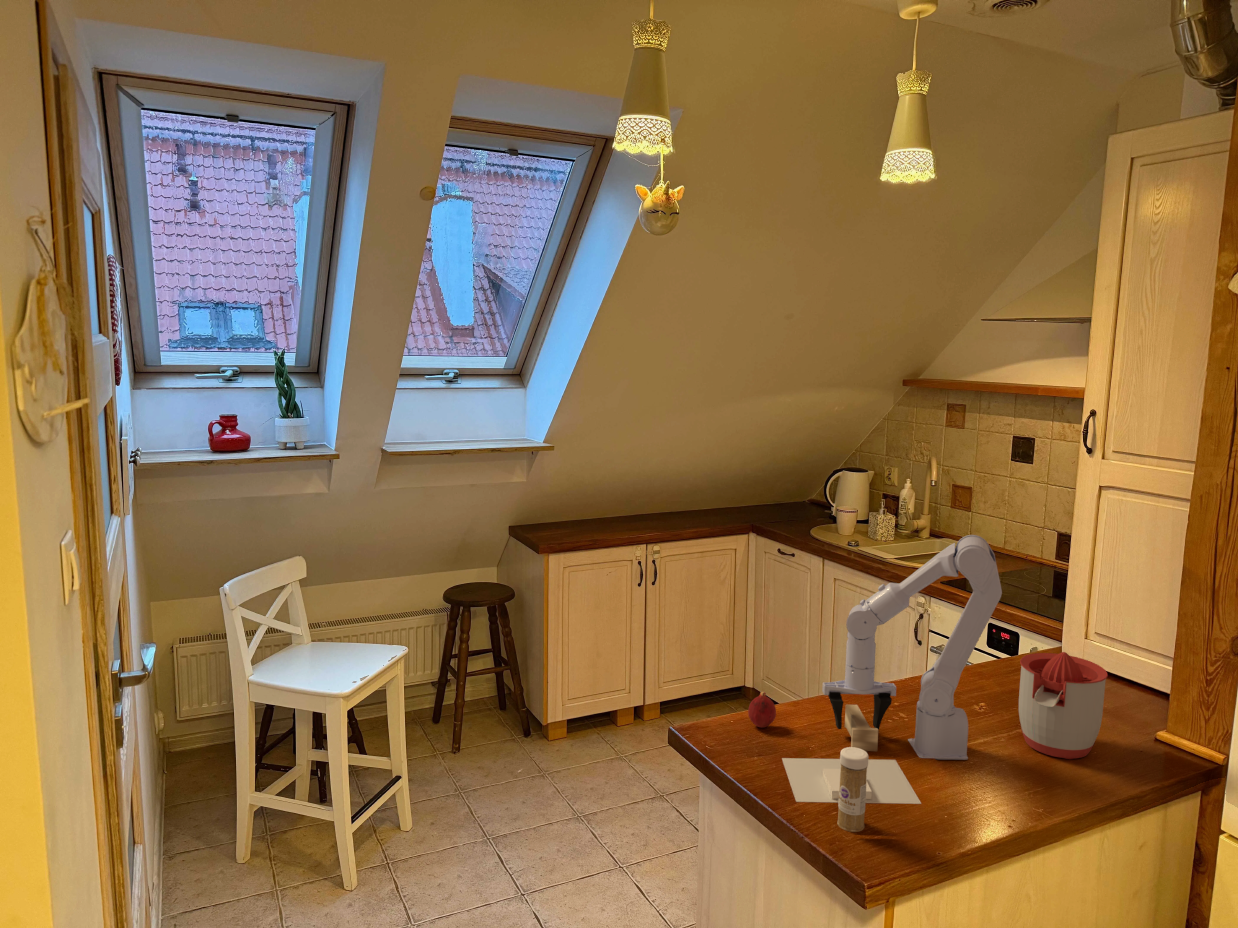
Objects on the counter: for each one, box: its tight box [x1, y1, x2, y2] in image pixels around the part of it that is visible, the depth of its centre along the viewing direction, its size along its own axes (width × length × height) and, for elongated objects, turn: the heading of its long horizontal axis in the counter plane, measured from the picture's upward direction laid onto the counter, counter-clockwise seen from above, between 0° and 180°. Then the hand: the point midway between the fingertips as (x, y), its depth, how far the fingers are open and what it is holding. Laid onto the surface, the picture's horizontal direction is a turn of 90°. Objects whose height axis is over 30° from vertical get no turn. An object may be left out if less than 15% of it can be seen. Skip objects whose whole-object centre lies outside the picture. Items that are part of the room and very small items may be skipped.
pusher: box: [844, 704, 879, 752], centre depth 179 cm, size 5×12×5 cm, turn 179°
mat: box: [781, 757, 922, 805], centre depth 162 cm, size 22×16×1 cm
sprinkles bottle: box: [836, 746, 869, 833], centre depth 147 cm, size 5×5×13 cm
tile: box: [823, 769, 872, 799], centre depth 159 cm, size 7×2×8 cm
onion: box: [747, 691, 777, 729], centre depth 184 cm, size 6×6×8 cm
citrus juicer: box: [1018, 651, 1109, 760], centre depth 175 cm, size 16×17×20 cm
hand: (857, 727), depth 180 cm, fingers open, 7 cm apart
